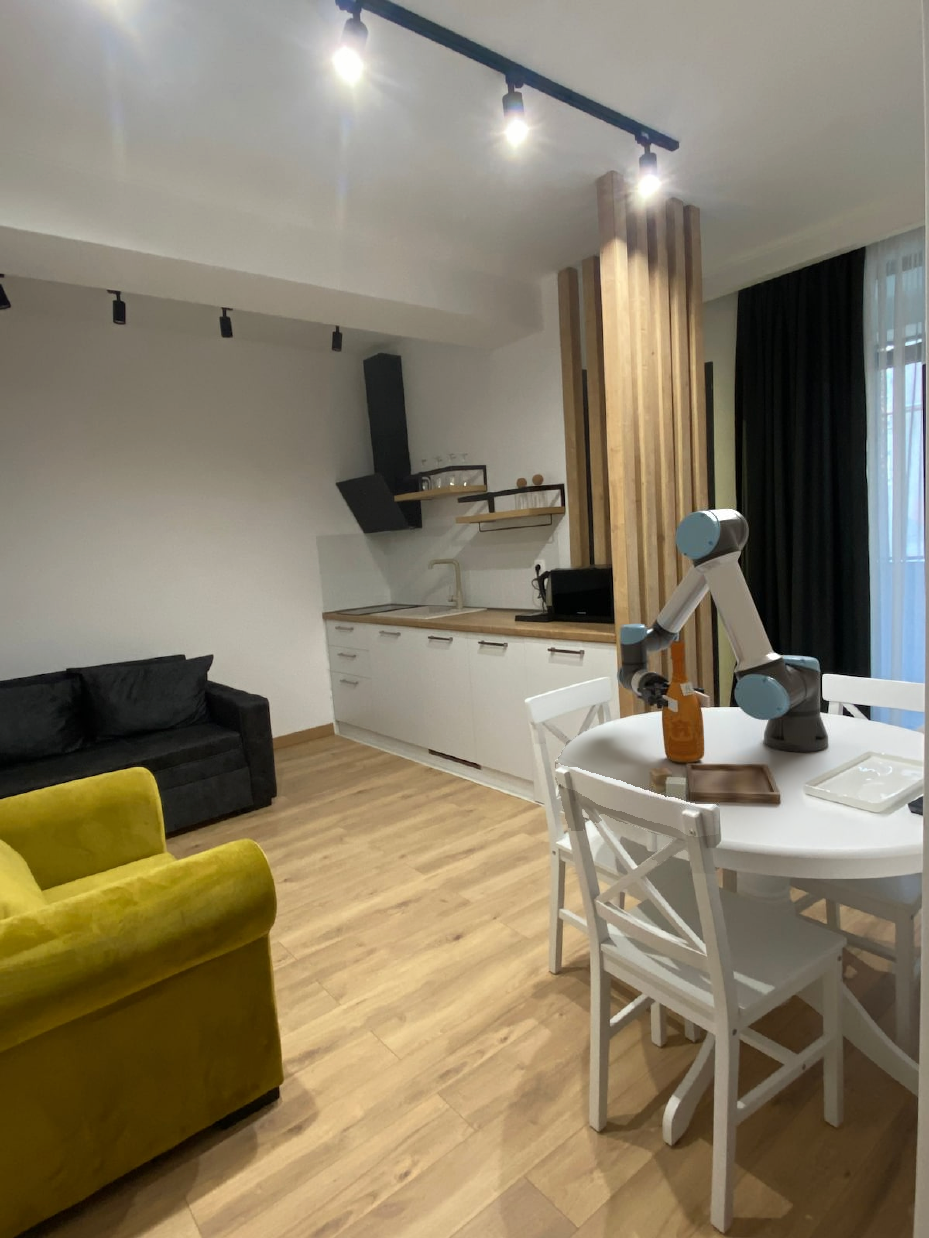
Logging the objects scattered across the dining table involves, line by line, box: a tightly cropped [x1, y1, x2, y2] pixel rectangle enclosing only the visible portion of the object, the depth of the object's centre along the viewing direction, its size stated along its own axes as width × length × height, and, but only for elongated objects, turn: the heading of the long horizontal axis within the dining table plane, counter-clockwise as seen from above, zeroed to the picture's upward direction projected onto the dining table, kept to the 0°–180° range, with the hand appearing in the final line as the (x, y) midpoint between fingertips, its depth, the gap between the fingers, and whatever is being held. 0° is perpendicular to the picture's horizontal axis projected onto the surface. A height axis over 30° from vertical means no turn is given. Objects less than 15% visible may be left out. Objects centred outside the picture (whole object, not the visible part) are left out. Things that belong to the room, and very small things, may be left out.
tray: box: [685, 762, 782, 804], centre depth 155 cm, size 18×18×2 cm
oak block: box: [648, 767, 674, 793], centre depth 157 cm, size 4×4×4 cm
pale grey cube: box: [665, 776, 688, 802], centre depth 151 cm, size 4×4×4 cm
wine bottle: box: [661, 640, 705, 764], centre depth 172 cm, size 10×10×30 cm
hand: (692, 704), depth 167 cm, fingers closed on wine bottle, 8 cm apart
